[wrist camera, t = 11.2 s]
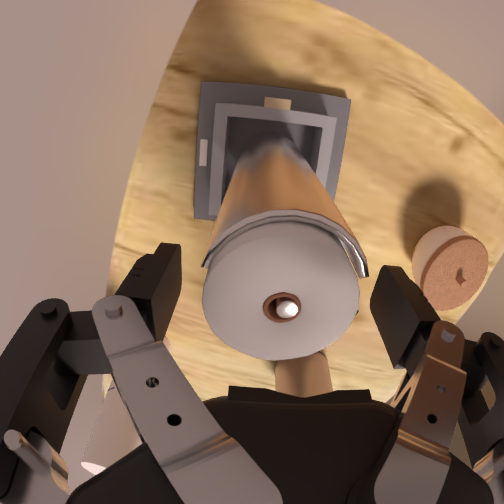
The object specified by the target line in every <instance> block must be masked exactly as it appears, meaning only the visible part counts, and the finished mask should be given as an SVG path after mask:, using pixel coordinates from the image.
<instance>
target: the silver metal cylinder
mask: <svg viewBox="0 0 504 504" xmlns="http://www.w3.org/2000/svg"><path fill="white" fill-rule="evenodd" d="M345 249H346V251H347V253H348V256H349V258H350V260H351V262H352V264H353V266H354V268H355V270H356V272H357V274H358V277H359V278H366V277H369V272H368V266H367V260H366V256H365V254H364V252H363V250H362V248H361V247H360V245H359V243H358V241H357V239H356V237H355V236H354V234H353V232H352V231H351V229H350V227H349V226H348V224H347V222H346V221H345V219H344V218H343V216H342V214H341V213H340V211H339V210H338V208H337V206H336V205H335V203H334V202H333V200H332V199H331V197H330V195H329V194H328V192H327V191H326V189H325V188H324V186H323V185H322V183H321V182H320V180H319V179H318V177H317V176H316V174H315V173H314V171H313V170H312V168H311V167H310V165H309V164H308V163H307V161H306V160H305V158H304V157H303V155H302V154H301V152H300V151H299V150H298V148H297V147H296V145H295V144H294V143H293V141H291V140H290V139H289V138H288V137H287V136H285V135H283V134H281V133H277V132H273V131H270V132H262V133H259V134H256V135H255V136H253V137H252V138H250V139H249V140H248V141H247V142H246V143H245V145H244V147H243V149H242V151H241V153H240V156H239V159H238V161H237V164H236V167H235V169H234V172H233V175H232V178H231V180H230V183H229V186H228V189H227V191H226V194H225V197H224V200H223V203H222V205H221V208H220V211H219V214H218V217H217V220H216V223H215V225H214V228H213V231H212V234H211V237H210V240H209V243H208V246H207V249H206V252H205V255H204V258H203V261H202V264H201V267H203V268H206V269H208V273H207V276H206V280H205V283H204V288H203V297H202V305H203V310H204V314H205V318H206V320H207V322H208V324H209V326H210V327H211V329H212V331H213V333H214V334H215V335H216V336H217V337H218V338H219V339H221V340H222V341H223V342H224V343H225V344H227V345H228V346H230V347H232V348H234V349H236V350H238V351H239V352H242V353H244V354H247V355H249V356H252V357H255V358H258V359H266V360H274V361H275V360H285V359H293V358H298V357H303V356H308V355H311V354H313V353H315V352H318V351H320V350H322V349H324V348H326V347H327V346H329V345H330V344H332V343H333V342H335V341H336V340H338V339H339V338H340V337H341V336H342V335H343V333H344V332H345V331H346V330H347V328H348V327H349V326H350V324H351V323H352V321H353V319H354V317H355V315H356V314H357V313H358V305H359V297H360V290H359V284H358V279H357V275H356V273H355V271H354V269H353V267H352V265H351V262H350V260H349V258H348V256H347V254H346V252H345Z"/></svg>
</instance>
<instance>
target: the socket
mask: <svg viewBox="0 0 504 504" xmlns="http://www.w3.org/2000/svg"><path fill="white" fill-rule="evenodd" d="M350 104H351V99H347V98H342V97H337V96H332V95H327V94H321V93H316V92H310V91H303V90H297V89H290V88H282V87H274V86H265V85H255V84H243V83H228V82H206V81H201V92H200V105H199V118H198V134H197V151H196V172H195V198H194V219H203V220H214V221H216V220H217V217H218V214H219V211H220V208H221V205H222V203H223V200H224V197H225V194H226V191H227V189H228V186H229V183H230V180H231V178H232V175H233V172H234V169H235V167H236V164H237V161H238V159H239V156H240V153H241V151H242V149H243V147H244V145H245V143H246V142H247V141H248V140H249V139H250V138H252V137H253V136H255V135H256V134H259V133H262V132H270V131H273V132H277V133H281V134H283V135H285V136H287V137H288V138H289V139H290V140H291V141H293V143H294V144H295V145H296V147H297V148H298V150H299V151H300V152H301V154H302V155H303V157H304V158H305V160H306V161H307V163H308V164H309V165H310V167H311V168H312V170H313V171H314V173H315V174H316V176H317V177H318V179H319V180H320V182H321V183H322V185H323V186H324V188H325V189H326V191H327V192H328V194H329V195H330V197H331V199H332V200H333V202H334V198H335V193H336V188H337V183H338V177H339V172H340V167H341V161H342V155H343V149H344V144H345V137H346V131H347V125H348V118H349V111H350Z"/></svg>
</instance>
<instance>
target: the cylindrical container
mask: <svg viewBox="0 0 504 504" xmlns="http://www.w3.org/2000/svg"><path fill="white" fill-rule="evenodd" d="M163 343H164V345H165V346H166V348H167V349H168V351H169V353H170V351H171V344H170V342H169V340H168V339H167V338H166V337H164V340H163ZM141 444H142V442H141V440H140V438H139V436H138V434H137V432H136V430H135V428H134V426H133V424H132V422H131V419H130V417H129V415H128V413H127V411H126V408H125V406H124V404H123V402H122V399H121V397H120V395H119V393H118V390H117V388H116V385H115V383H114V381H113V380H112V382H111V385H110V387H109V389H108V392H107V394H106V397H105V399H104V402H103V404H102V407H101V410H100V412H99V415H98V417H97V420H96V423H95V425H94V428H93V431H92V433H91V436H90V439H89V442H88V444H87V447H86V450H85V453H84V456H83V459H82V462H81V464H82V466H83V467H84V468H85V469H86V470H88V471H89V472H91V473H93V474H95V475H97V474H98V473H100V472H102V471H103V470H105V469H106V468H108V467H109V466H111V465H112V464H114V463H115V462H116V461H118V460H119V459H121V458H122V457H124V456H125V455H127V454H128V453H130V452H131V451H132V450H134V449H135V448H137V447H138V446H139V445H141Z"/></svg>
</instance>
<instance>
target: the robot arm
mask: <svg viewBox="0 0 504 504" xmlns="http://www.w3.org/2000/svg"><path fill="white" fill-rule="evenodd" d="M181 285H182V267H181V246H180V244H172V243H160V245H159V246H158V248H157V249H156V251H155V253H154V254H146V255H144V256H142V257H141V258H139V259H138V260H137V261H136V263H135V264H134V266H133V267H132V269H131V270H130V272H129V273H128V275H127V276H126V278H125V279H124V281H123V282H122V284H121V285H120V287H119V289H118V290H117V292H116V293H115V295H112V296H108V297H105V298H103V299H101V300H99V301H98V302H97V303H96V304H95V305H94V306H93V309H92V310H91V311H77V312H70V310H69V307H68V304H67V303H66V302H65V301H63V300H61V299H56V298H54V299H53V298H52V299H47V300H44V301H42V302H40V303H38V304H37V305H36V306H35V307H34V308H33V309H32V310H31V312H30V313H29V315H28V316H27V317H26V319H25V320H24V322H23V323H22V324H21V326H20V327H19V329H18V330H17V332H16V333H15V335H14V336H13V338H12V339H11V341H10V342H9V344H8V345H7V347H6V348H5V350H4V351H3V353H2V355H1V356H0V504H504V341H503V340H502V339H501V338H500V337H499V336H497V335H496V334H494V333H491V332H485V333H483V334H482V335H481V337H480V339H479V340H478V342H474V341H470V340H466V339H465V337H464V334H463V332H462V331H461V330H460V329H459V328H458V327H457V326H456V325H454V324H453V323H450V322H448V321H443V320H441V319H440V318H439V316H438V315H437V313H436V312H435V310H434V308H433V307H432V305H431V304H430V302H428V299H427V298H426V296H424V293H423V292H422V290H421V289H420V287H419V286H418V285H417V284H415V283H414V282H413V281H412V280H411V279H409V277H408V276H407V275H406V273H405V272H404V270H403V269H402V268H401V267H399V266H389V265H384V266H382V268H381V269H380V272H379V275H378V278H377V281H376V284H375V287H374V290H373V292H372V295H371V299H370V310H371V313H372V315H373V318H374V320H375V322H376V325H377V327H378V330H379V332H380V335H381V337H382V339H383V342H384V344H385V347H386V350H387V352H388V355H389V357H390V360H391V362H392V365H393V368H394V369H403V368H406V370H407V371H406V373H405V375H404V376H403V378H402V380H401V383H400V385H399V387H398V389H397V392H396V394H395V396H394V398H393V400H392V402H391V405H388V404H386V403H383V402H380V401H376V400H372V398H371V394H370V391H369V389H366V390H337V391H333V388H332V382H331V377H330V372H329V367H328V362H327V359H326V357H325V356H324V355H322V354H321V353H319V352H315V353H313V354H311V355H308V356H303V357H298V358H293V359H285V360H279V361H278V362H277V364H276V366H275V383H276V391H273V390H269V389H266V388H251V387H239V386H229V391H228V396H221V397H216V398H212V399H209V400H206V401H203V402H202V401H201V399H200V398H199V397H198V395H197V394H196V392H195V391H194V389H193V388H192V386H191V385H190V383H189V382H188V380H187V379H186V377H185V376H184V374H183V373H182V371H181V370H180V368H179V367H178V365H177V364H176V362H175V361H174V359H173V357H172V356H171V354H170V353H169V351H168V349H167V348H166V346H165V345H164V343H163V340H164V337H165V334H166V331H167V328H168V325H169V323H170V320H171V317H172V314H173V312H174V309H175V306H176V303H177V301H178V298H179V295H180V292H181ZM88 374H111V376H112V378H113V381H114V383H115V385H116V388H117V390H118V393H119V395H120V397H121V399H122V402H123V404H124V406H125V408H126V411H127V413H128V415H129V417H130V419H131V422H132V424H133V426H134V428H135V430H136V432H137V434H138V436H139V438H140V440H141V442H142V444H141V445H139V446H138V447H137V448H135V449H134V450H132V451H131V452H130V453H128V454H127V455H125V456H124V457H122V458H121V459H119V460H118V461H116V462H115V463H114V464H112V465H111V466H109V467H108V468H106V469H105V470H103V471H102V472H100V473H98V474H97V475H95V476H94V477H92V478H91V479H89V480H88V481H86V482H84V483H83V484H81V485H80V486H78V487H77V488H76V489H75V490H74V491H73V492H72V493H70V491H69V488H68V482H67V479H68V468H67V465H66V463H65V461H64V459H63V458H62V457H61V456H60V455H59V453H60V450H61V447H62V444H63V441H64V438H65V435H66V432H67V429H68V426H69V424H70V420H71V418H72V415H73V412H74V409H75V407H76V404H77V401H78V399H79V396H80V394H81V391H82V389H83V386H84V383H85V381H86V379H87V376H88ZM488 380H489V381H490V383H491V385H492V387H493V389H494V391H495V394H496V401H495V404H494V406H493V407H492V408H491V409H490V410H489V409H488V406H487V404H486V402H485V399H484V397H483V395H482V392H481V389H482V388H483V386H484V385H485V384H486V383H487V381H488ZM457 420H458V423H459V426H460V429H461V432H462V435H463V438H464V441H465V445H466V448H467V451H468V454H469V458H470V462H471V465H472V469H473V470H472V469H471V468H469V467H468V466H467V465H466V464H464V463H463V462H462V461H460V460H459V459H458V458H457V457H456V456H454V455H453V454H452V453H451V452H449V449H450V446H451V442H452V439H453V435H454V431H455V427H456V424H457Z"/></svg>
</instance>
